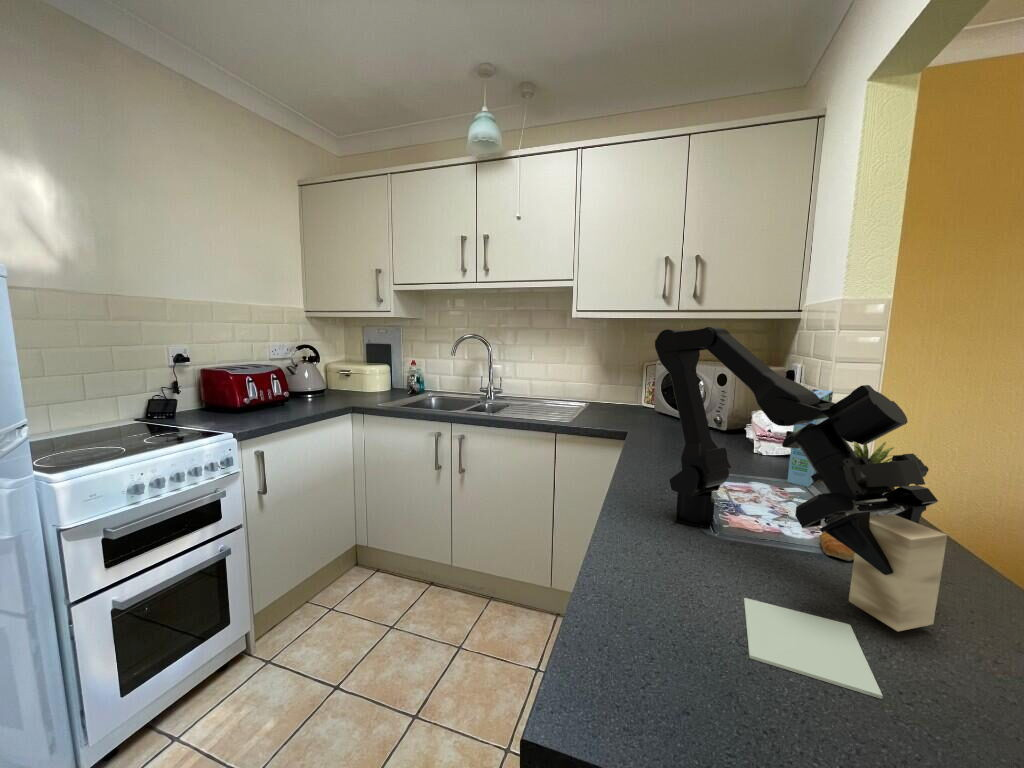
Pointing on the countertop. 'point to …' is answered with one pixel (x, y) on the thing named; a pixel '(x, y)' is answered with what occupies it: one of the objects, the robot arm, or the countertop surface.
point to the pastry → (835, 547)
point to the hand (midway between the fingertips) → (908, 571)
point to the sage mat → (808, 646)
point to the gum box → (798, 462)
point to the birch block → (901, 574)
